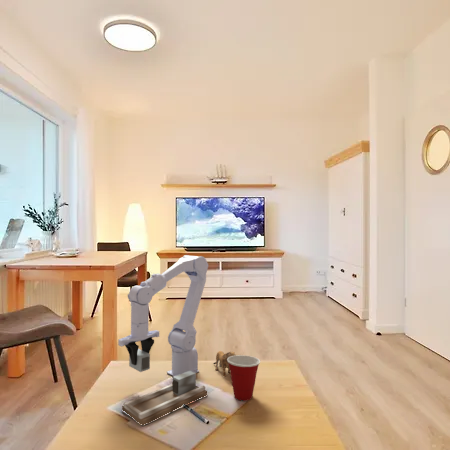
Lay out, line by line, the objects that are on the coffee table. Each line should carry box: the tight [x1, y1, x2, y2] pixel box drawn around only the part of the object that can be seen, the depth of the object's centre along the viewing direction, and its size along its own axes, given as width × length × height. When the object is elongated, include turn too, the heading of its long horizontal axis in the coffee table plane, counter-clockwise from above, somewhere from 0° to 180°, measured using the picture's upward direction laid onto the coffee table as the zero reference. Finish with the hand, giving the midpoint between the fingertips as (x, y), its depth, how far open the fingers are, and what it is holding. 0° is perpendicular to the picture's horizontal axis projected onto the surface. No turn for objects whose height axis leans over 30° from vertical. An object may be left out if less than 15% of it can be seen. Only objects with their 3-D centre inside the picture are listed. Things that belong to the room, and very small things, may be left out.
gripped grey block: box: [128, 348, 151, 373], centre depth 113 cm, size 4×7×5 cm, turn 46°
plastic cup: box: [227, 354, 261, 402], centre depth 109 cm, size 11×11×12 cm
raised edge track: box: [121, 371, 208, 425], centre depth 104 cm, size 24×11×6 cm, turn 136°
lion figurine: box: [213, 350, 237, 378], centre depth 128 cm, size 15×5×9 cm, turn 34°
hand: (139, 362), depth 113 cm, fingers closed on gripped grey block, 3 cm apart
